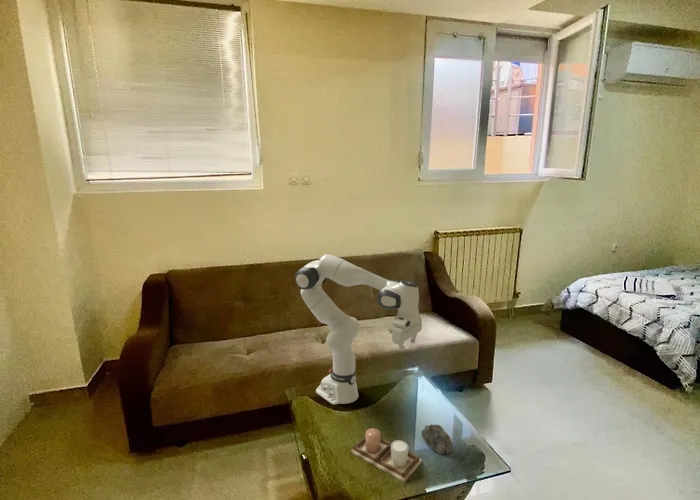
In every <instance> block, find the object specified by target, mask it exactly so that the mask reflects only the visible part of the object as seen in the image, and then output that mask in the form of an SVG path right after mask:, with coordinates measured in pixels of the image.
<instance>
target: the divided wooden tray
mask: <svg viewBox="0 0 700 500" xmlns="http://www.w3.org/2000/svg"><path fill="white" fill-rule="evenodd" d="M391 443H392V442H390V441H388V440H387V439H384V438H382V437H380V451H379V452H378V453H375V454H372V453H369V452H367V451H366V435H364V437H362V438H361V439H360V441H358V442H357V443H355V445H354V446H353V448H352V449H350V453H351V454H353V455H355V456H356V457H357V458H359V459H361V460H363V461H365V462H367V463H369V464H370V465H372V466H374V467H376V468H378V469H379V470H381V471H383V472H385V473H386V474H388V475H389V476H392V477H393V478H395V479H396V480H399V481H401V482H403V483H406V482H407V481H408V479H409V478H410V477H411V475H412V474H413V473H414V472H415V471H416V470H417V468H418V467H419V466H420V465H421V464H422V462H423V459H422V458H420V456H418V455H416V454H414V453H412V452H410V451H408V456H407V463H406V465H405V466H403V467H396V466H395V465H393V463H392V456H391Z"/></svg>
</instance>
